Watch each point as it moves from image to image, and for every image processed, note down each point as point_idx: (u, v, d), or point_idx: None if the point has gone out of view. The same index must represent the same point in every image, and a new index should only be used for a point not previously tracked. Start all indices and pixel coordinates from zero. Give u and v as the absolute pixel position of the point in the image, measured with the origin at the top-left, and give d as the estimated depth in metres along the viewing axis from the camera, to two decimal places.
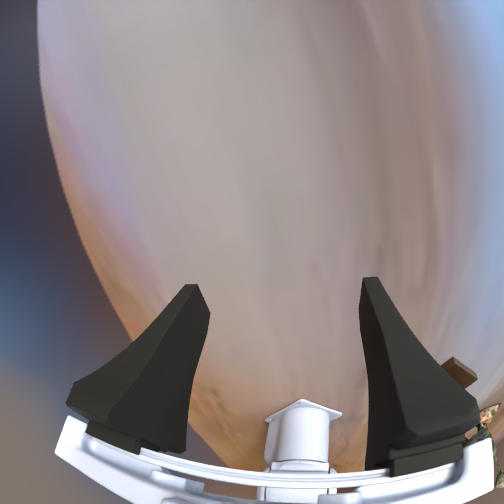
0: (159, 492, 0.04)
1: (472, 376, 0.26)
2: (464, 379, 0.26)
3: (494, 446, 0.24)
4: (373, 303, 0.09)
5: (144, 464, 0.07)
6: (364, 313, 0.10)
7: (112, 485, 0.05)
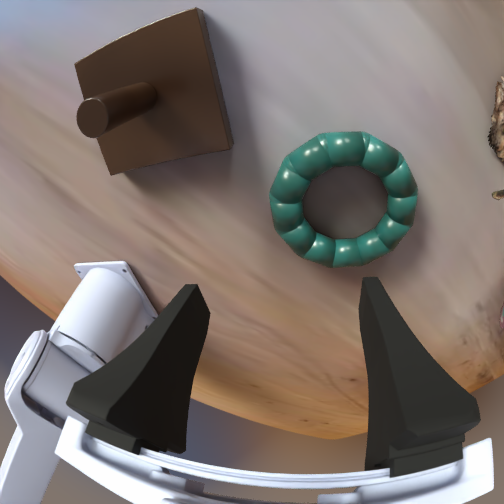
0: (159, 492, 0.04)
1: (160, 21, 0.10)
2: (149, 42, 0.11)
3: None
4: (373, 303, 0.09)
5: (144, 464, 0.07)
6: (364, 313, 0.10)
7: (112, 485, 0.05)
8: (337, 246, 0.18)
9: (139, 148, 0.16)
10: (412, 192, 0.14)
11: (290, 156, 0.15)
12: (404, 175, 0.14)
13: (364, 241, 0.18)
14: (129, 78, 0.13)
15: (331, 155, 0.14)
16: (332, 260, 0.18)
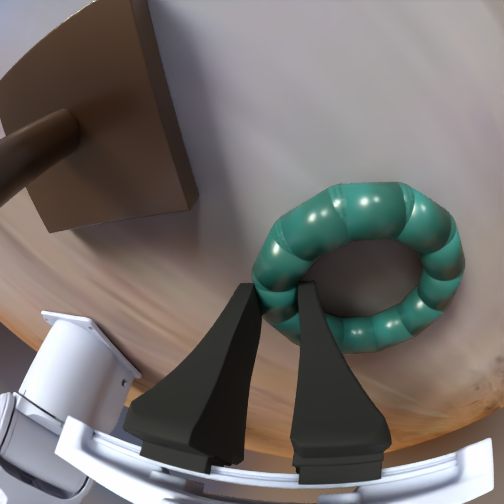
0: (159, 492, 0.04)
1: (79, 13, 0.05)
2: (65, 48, 0.06)
3: None
4: (300, 307, 0.09)
5: (144, 464, 0.07)
6: None
7: (112, 485, 0.05)
8: (346, 331, 0.13)
9: (71, 203, 0.10)
10: (459, 272, 0.09)
11: (283, 224, 0.10)
12: (455, 252, 0.08)
13: (382, 326, 0.12)
14: (46, 105, 0.07)
15: (351, 227, 0.09)
16: None
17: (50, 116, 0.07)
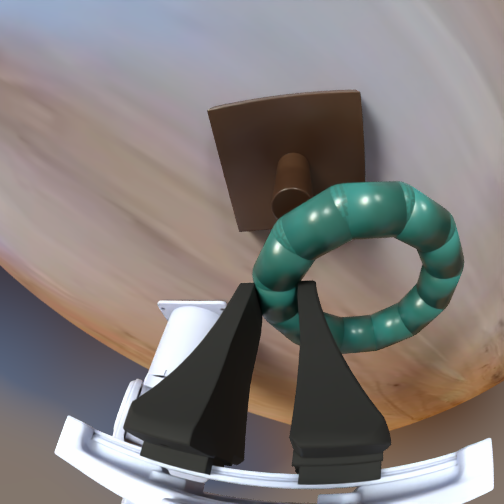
0: (159, 492, 0.04)
1: (323, 95, 0.13)
2: (309, 114, 0.14)
3: None
4: (299, 307, 0.09)
5: (144, 464, 0.07)
6: None
7: (112, 485, 0.05)
8: (347, 331, 0.13)
9: None
10: (458, 270, 0.09)
11: (285, 223, 0.10)
12: (454, 250, 0.09)
13: (382, 324, 0.12)
14: (282, 146, 0.16)
15: (352, 226, 0.09)
16: None
17: (301, 159, 0.15)
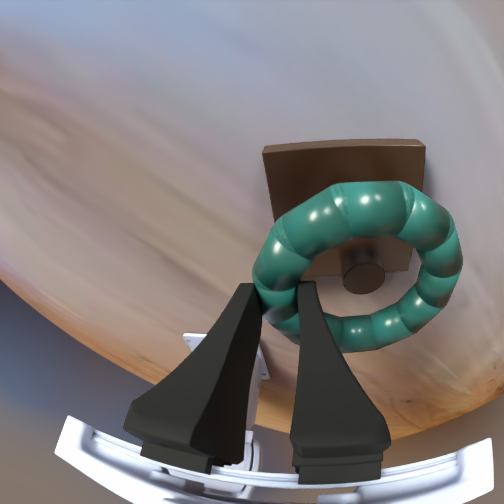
0: (159, 492, 0.04)
1: (390, 147, 0.12)
2: (373, 166, 0.13)
3: None
4: (299, 307, 0.09)
5: (144, 464, 0.07)
6: None
7: (112, 485, 0.05)
8: (346, 330, 0.13)
9: (329, 261, 0.18)
10: (457, 269, 0.09)
11: (285, 222, 0.10)
12: (453, 248, 0.09)
13: (382, 324, 0.13)
14: None
15: (352, 225, 0.09)
16: None
17: None
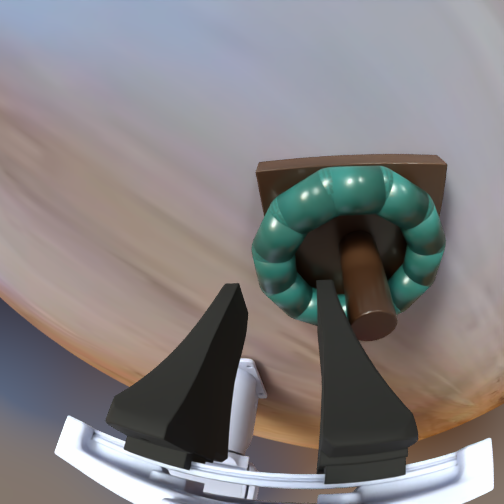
0: (159, 492, 0.04)
1: (407, 166, 0.10)
2: None
3: None
4: (320, 306, 0.09)
5: (144, 464, 0.07)
6: (317, 316, 0.11)
7: (112, 485, 0.05)
8: None
9: None
10: (439, 248, 0.10)
11: (279, 201, 0.11)
12: (433, 227, 0.10)
13: None
14: (348, 223, 0.13)
15: (337, 203, 0.10)
16: None
17: (372, 244, 0.12)
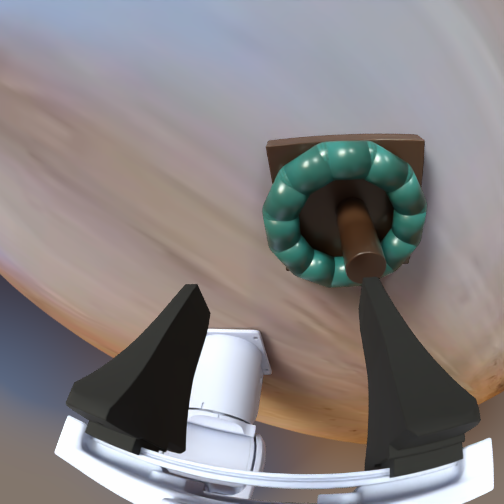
0: (159, 492, 0.04)
1: (390, 142, 0.13)
2: None
3: None
4: (373, 303, 0.09)
5: (144, 464, 0.07)
6: (364, 313, 0.10)
7: (112, 485, 0.05)
8: (337, 265, 0.17)
9: (331, 254, 0.18)
10: (421, 209, 0.13)
11: (286, 168, 0.13)
12: (414, 190, 0.12)
13: None
14: (343, 190, 0.15)
15: (332, 168, 0.12)
16: (331, 280, 0.17)
17: (363, 207, 0.14)
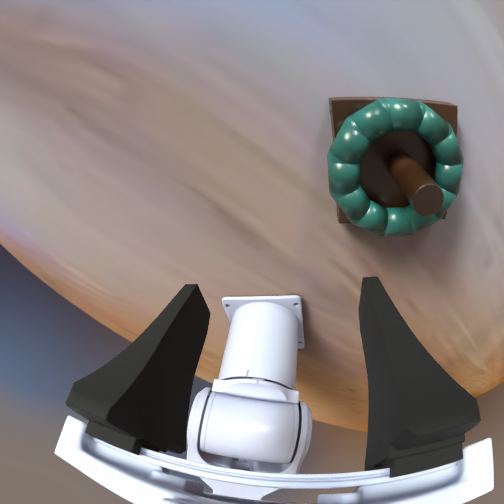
0: (159, 492, 0.04)
1: (431, 105, 0.13)
2: None
3: None
4: (373, 303, 0.09)
5: (144, 464, 0.07)
6: (364, 313, 0.10)
7: (112, 485, 0.05)
8: (390, 213, 0.17)
9: None
10: (460, 160, 0.13)
11: (352, 117, 0.13)
12: (454, 143, 0.12)
13: None
14: (394, 144, 0.15)
15: (393, 117, 0.12)
16: (385, 227, 0.17)
17: (412, 158, 0.15)
